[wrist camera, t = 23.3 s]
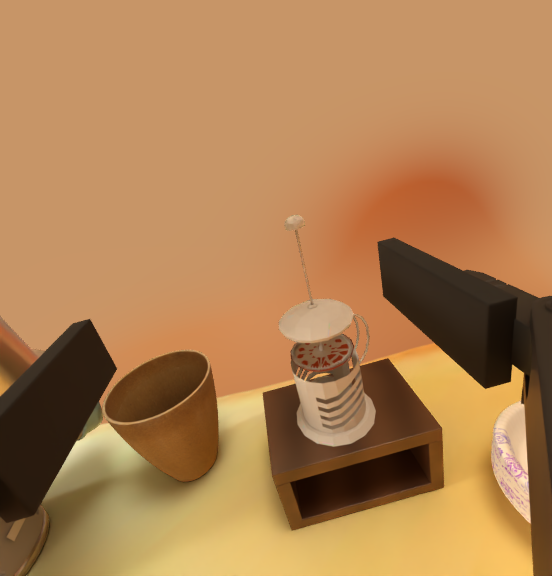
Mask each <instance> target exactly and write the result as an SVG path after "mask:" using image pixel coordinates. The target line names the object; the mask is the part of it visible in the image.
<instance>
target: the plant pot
mask: <svg viewBox="0 0 552 576" xmlns="http://www.w3.org/2000/svg"><path fill="white" fill-rule="evenodd" d="M102 413H103V416H104V417H105V419H106V420H107V421H108V422H109V423H110V425H111V426H112V427H113V428H114V429H115V430H116V431H117V433H118V434H119V435H120V436H121V437H122V438H123V439H124V440H125V441H126V442H127V443H128V444H129V445H130V446H131V447H132V448H133V449H134V450H136V451H137V452H138V453H139V454H140V455H141V456H142V457H144V458H145V459H146V460H147V461H149V462H150V463H151V464H152V465H154V466H155V467H157V468H158V469H160V470H161V471H163V472H164V473H166V474H167V475H169V476H171V477H173V478H175V479H177V480H179V481H182V482H188V481H193V480H196V479H198V478H200V477H201V476H203V475H204V474H205V473H206V472H207V471H208V470H209V469H210V468H211V467H212V466H213V464H214V462H215V460H216V457H217V451H218V409H217V399H216V393H215V386H214V380H213V375H212V370H211V366H210V361H209V359H208V357H207V356H206V355H204V354H203V353H202V352H199V351H195V350H179V351H174V352H170V353H166V354H163V355H160V356H157V357H155V358H152V359H150V360H148V361H146V362H144V363H142V364H141V365H139V366H137V367H136V368H134V369H133V370H132V371H130V372H129V373H127V374H126V375H125V376H124V377H122V378H121V379H120V380H119V381H118V382H117V383H116V384H115V385H114V386H113V387H112V389H111V390H110V392H109V393H108V395H107V396H106V398H105V400H104V403H103V406H102Z"/></svg>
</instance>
